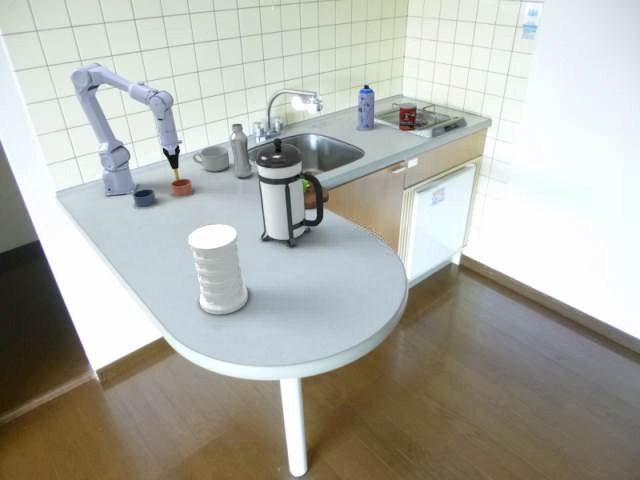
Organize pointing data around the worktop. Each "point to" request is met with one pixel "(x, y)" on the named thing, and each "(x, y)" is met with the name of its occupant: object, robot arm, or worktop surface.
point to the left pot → (144, 198)
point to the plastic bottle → (240, 151)
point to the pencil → (176, 174)
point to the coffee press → (285, 192)
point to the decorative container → (218, 268)
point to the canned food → (407, 116)
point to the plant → (312, 193)
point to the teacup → (213, 158)
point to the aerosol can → (366, 109)
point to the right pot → (181, 187)
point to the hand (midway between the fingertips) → (175, 167)
